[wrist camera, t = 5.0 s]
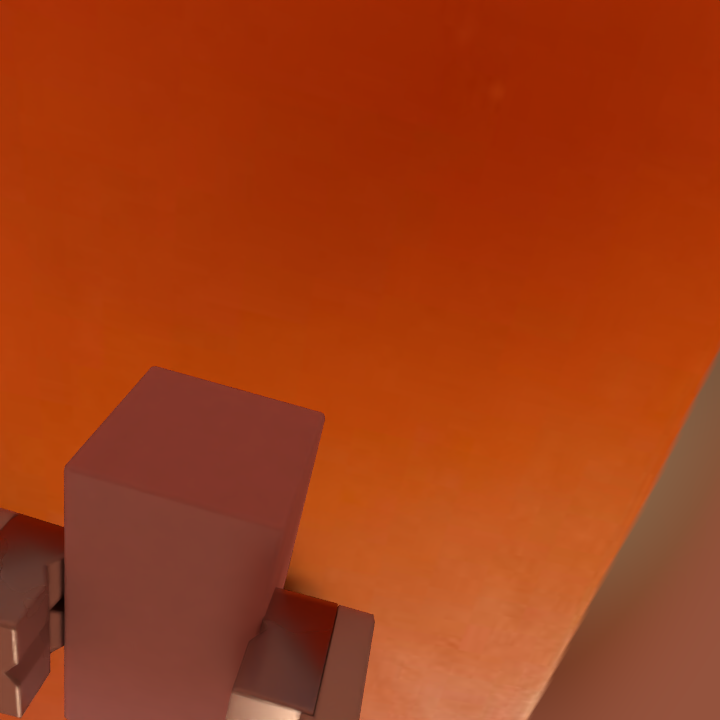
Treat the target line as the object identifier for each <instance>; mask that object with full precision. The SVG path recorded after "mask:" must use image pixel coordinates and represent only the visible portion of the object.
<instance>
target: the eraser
mask: <svg viewBox="0 0 720 720" xmlns="http://www.w3.org/2000/svg"><path fill="white" fill-rule="evenodd" d="M324 421H325V416H324V414H323V413H321V412H318V411H314V410H310V409H307V408H303V407H300V406H296V405H293V404H289V403H285V402H282V401H278V400H275V399H271V398H267V397H264V396H260V395H257V394H253V393H250V392H246V391H242V390H239V389H235V388H232V387H228V386H224V385H221V384H217V383H214V382H210V381H207V380H203V379H199V378H196V377H192V376H189V375H185V374H182V373H178V372H174V371H171V370H167V369H164V368H160V367H156V366H155V367H151V368H150V369H149V371H148V372H147V373H146V374H145V375H144V376H143V377H142V379H141V380H140V381H139V382H138V383H137V384H136V385H135V387H134V388H133V389H132V390H131V391H130V392H129V393H128V395H127V396H126V397H125V398H124V399H123V400H122V401H121V403H120V404H119V405H118V406H117V407H116V408H115V409H114V411H113V412H112V413H111V414H110V415H109V416H108V417H107V419H106V420H105V421H104V422H103V423H102V424H101V425H100V427H99V428H98V429H97V430H96V431H95V432H94V433H93V435H92V436H91V437H90V438H89V439H88V440H87V441H86V442H85V444H84V445H83V446H82V447H81V448H80V449H79V450H78V452H77V453H76V454H75V455H74V456H73V457H72V458H71V460H70V461H69V462H68V463H67V464H66V466H65V469H64V692H65V718H67V719H68V720H225V719H226V714H227V710H228V705H229V701H230V696H231V692H232V688H233V686H234V683H235V680H236V677H237V674H238V671H239V668H240V665H241V662H242V659H243V656H244V654H245V651H246V648H247V645H248V642H249V641H250V640H251V639H253V638H254V637H255V636H257V635H258V634H259V632H260V628H261V624H262V619H263V617H264V616H265V615H266V612H267V610H268V607H269V604H270V601H271V598H272V595H273V592H274V590H275V588H276V587H278V588H282V589H283V588H284V584H285V580H286V576H287V572H288V568H289V563H290V559H291V555H292V551H293V547H294V543H295V539H296V535H297V531H298V527H299V523H300V519H301V515H302V510H303V506H304V502H305V498H306V494H307V490H308V486H309V482H310V478H311V474H312V470H313V466H314V462H315V457H316V453H317V449H318V445H319V441H320V437H321V433H322V429H323V425H324Z"/></svg>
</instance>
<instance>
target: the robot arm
mask: <svg viewBox="0 0 720 720" xmlns="http://www.w3.org/2000/svg"><path fill="white" fill-rule="evenodd" d="M337 606H338V604H337V603H333V602H330V601H326V600H322V599H319V598H315V597H311V596H307V595H304V594H300V593H296V592H293V591H289V590H285V589H282V588H278V587H276V588H275V590H274V592H273V595H272V598H271V601H270V604H269V607H268V610H267V612H266V615H265V616H264V617H263V619H262V624H261V628H260V632H259V634H258V635H257V636H255V637H254V638H253V639H251V640H250V641H249V642H248V645H247V648H246V651H245V654H244V656H243V659H242V662H241V665H240V668H239V671H238V674H237V677H236V680H235V683H234V686H233V688H232V692H231V696H230V701H229V705H228V710H227V714H226V719H225V720H359V717H360V711H361V705H362V698H363V692H364V686H365V680H366V673H367V667H368V661H369V655H370V648H371V642H372V636H373V630H374V623H375V621H374V616H373V614H369V613H366V612H362V611H359V610H355V609H352V608H348V607H345V606H341V605H339V606H338V607H337ZM62 646H64V527H61V526H58V525H55V524H52V523H49V522H46V521H42V520H39V519H36V518H33V517H30V516H26V515H23V514H20V513H16V512H13V511H10V510H6V509H3V508H0V713H3V714H7V715H11V716H15V717H19V718H21V717H22V715H23V714H24V712H25V711H26V709H27V708H28V706H29V704H30V703H31V701H32V700H33V698H34V697H35V695H36V693H37V692H38V690H39V689H40V687H41V686H42V684H43V682H44V681H45V679H46V678H47V676H48V675H49V673H50V653H51V652H53V651H55V650H57V649H59V648H60V647H62Z"/></svg>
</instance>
